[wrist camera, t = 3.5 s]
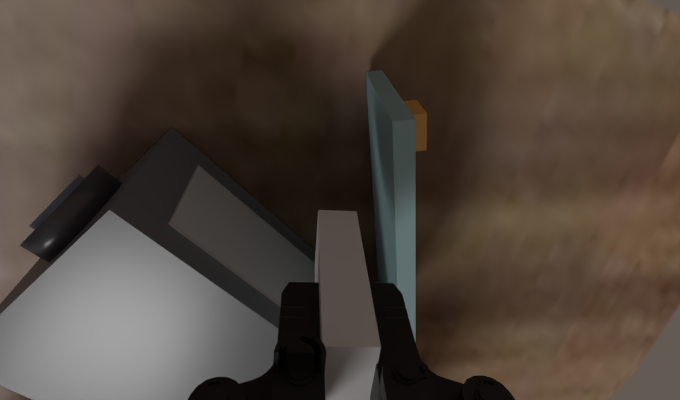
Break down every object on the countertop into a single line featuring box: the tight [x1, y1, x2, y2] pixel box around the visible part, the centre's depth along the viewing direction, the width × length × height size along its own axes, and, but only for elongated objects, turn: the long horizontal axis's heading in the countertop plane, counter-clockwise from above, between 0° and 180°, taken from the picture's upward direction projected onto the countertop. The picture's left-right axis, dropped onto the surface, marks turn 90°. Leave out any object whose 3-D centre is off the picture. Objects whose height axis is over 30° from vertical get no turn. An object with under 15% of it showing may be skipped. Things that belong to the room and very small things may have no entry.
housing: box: [0, 127, 316, 400], centre depth 22 cm, size 17×11×9 cm, turn 40°
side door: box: [366, 70, 427, 343], centre depth 21 cm, size 16×2×7 cm, turn 5°
